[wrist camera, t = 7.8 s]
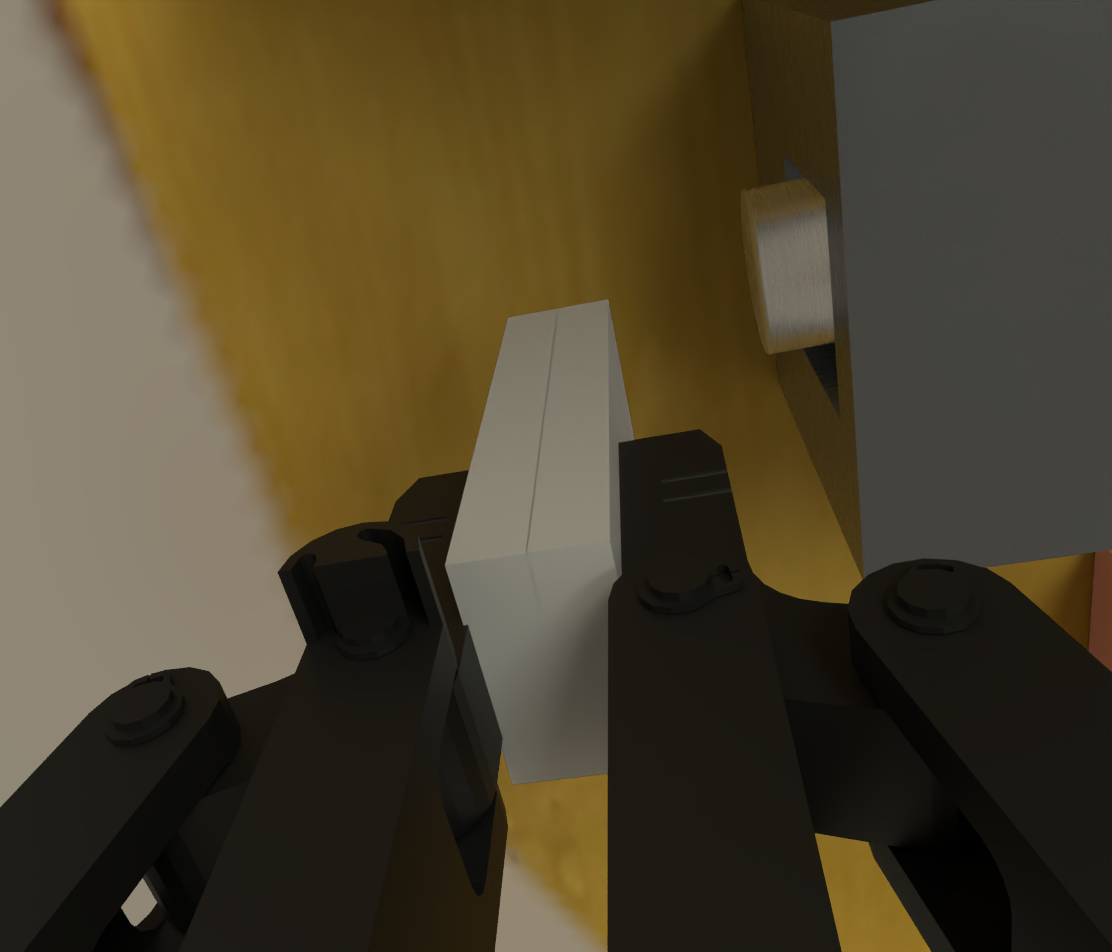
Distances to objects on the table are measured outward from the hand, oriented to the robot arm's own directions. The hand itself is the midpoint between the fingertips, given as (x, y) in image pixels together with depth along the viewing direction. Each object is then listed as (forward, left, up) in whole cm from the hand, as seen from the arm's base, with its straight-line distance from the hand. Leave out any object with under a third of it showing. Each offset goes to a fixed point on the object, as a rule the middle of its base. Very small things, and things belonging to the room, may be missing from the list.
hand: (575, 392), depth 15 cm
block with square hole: (0, +8, -10) cm, 13 cm away
